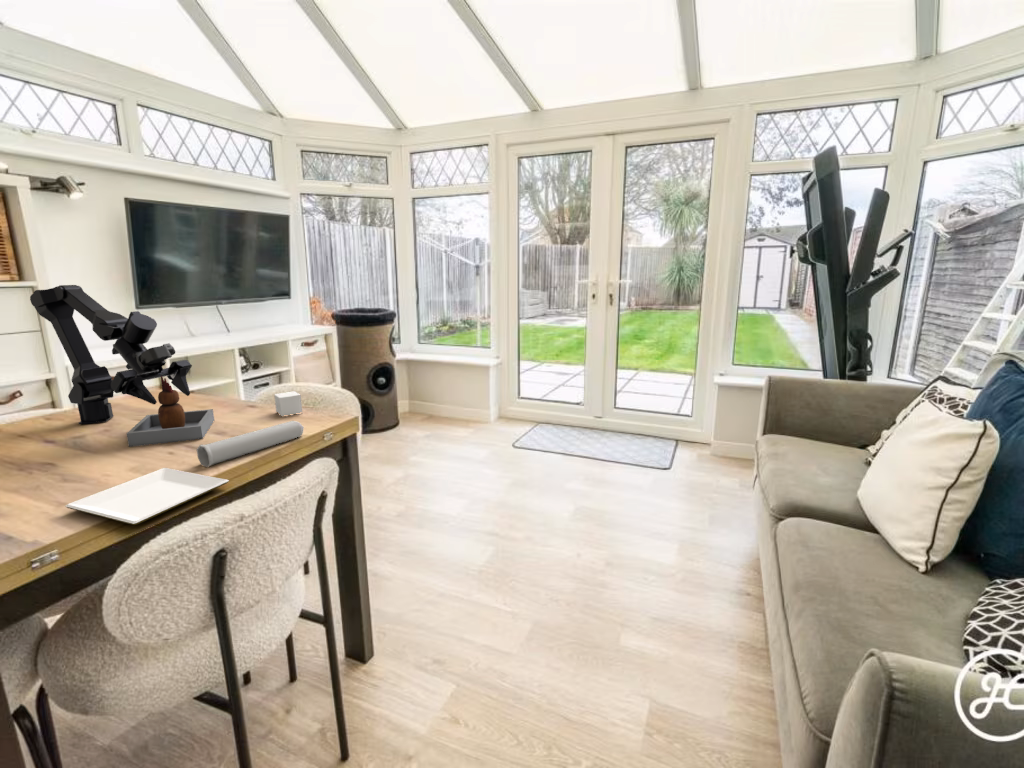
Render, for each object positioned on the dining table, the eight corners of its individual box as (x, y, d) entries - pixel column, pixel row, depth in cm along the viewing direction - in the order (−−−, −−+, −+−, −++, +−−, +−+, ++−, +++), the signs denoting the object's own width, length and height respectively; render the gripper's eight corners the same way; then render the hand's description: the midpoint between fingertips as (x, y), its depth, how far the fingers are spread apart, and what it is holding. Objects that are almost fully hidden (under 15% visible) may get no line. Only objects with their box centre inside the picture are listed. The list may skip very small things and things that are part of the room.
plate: (136, 533, 85) (133, 522, 84) (66, 515, 91) (63, 504, 90) (231, 488, 102) (229, 479, 101) (166, 475, 108) (164, 466, 108)
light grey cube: (281, 417, 149) (279, 398, 148) (276, 413, 153) (274, 394, 152) (302, 413, 153) (300, 394, 151) (296, 409, 157) (294, 390, 156)
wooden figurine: (159, 430, 136) (150, 376, 132) (184, 425, 139) (176, 373, 136) (163, 436, 131) (153, 380, 127) (188, 431, 134) (180, 377, 131)
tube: (292, 419, 134) (194, 446, 113) (304, 416, 131) (205, 443, 110) (298, 438, 134) (201, 469, 114) (309, 436, 131) (212, 466, 111)
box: (128, 446, 124) (126, 433, 124) (149, 426, 140) (147, 414, 139) (202, 439, 130) (200, 426, 129) (214, 420, 145) (212, 409, 145)
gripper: (109, 340, 122) (148, 387, 121) (181, 330, 139) (216, 372, 138) (94, 369, 126) (132, 415, 125) (166, 357, 143) (200, 397, 142)
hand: (172, 398), depth 132 cm, fingers open, 9 cm apart
